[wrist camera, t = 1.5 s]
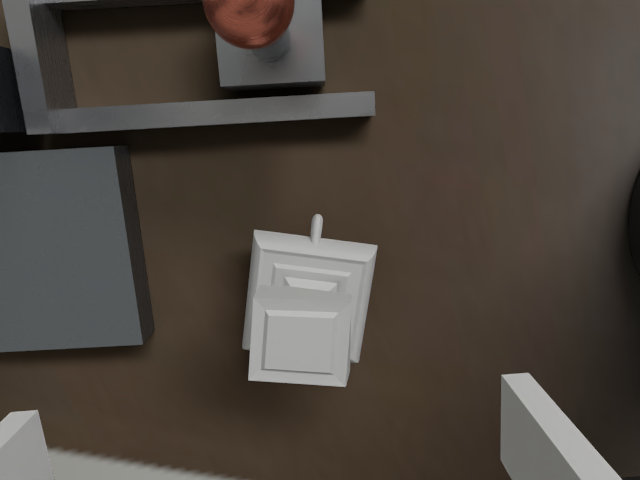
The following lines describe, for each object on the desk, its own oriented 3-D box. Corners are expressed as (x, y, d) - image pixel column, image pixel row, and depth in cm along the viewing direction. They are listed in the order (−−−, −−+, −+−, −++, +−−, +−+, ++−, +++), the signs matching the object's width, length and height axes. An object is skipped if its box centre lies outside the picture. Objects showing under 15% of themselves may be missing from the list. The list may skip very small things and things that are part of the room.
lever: (320, 5, 25) (322, -94, 14) (324, 86, 26) (329, 53, 15) (223, 10, 25) (149, -83, 14) (231, 91, 26) (166, 63, 15)
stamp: (354, 357, 30) (367, 445, 21) (246, 345, 29) (218, 429, 21) (375, 214, 28) (399, 250, 19) (260, 200, 27) (235, 230, 19)
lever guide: (367, -33, 25) (373, -55, 22) (371, 116, 26) (378, 114, 23) (33, -13, 25) (-4, -32, 22) (59, 134, 26) (27, 134, 24)
